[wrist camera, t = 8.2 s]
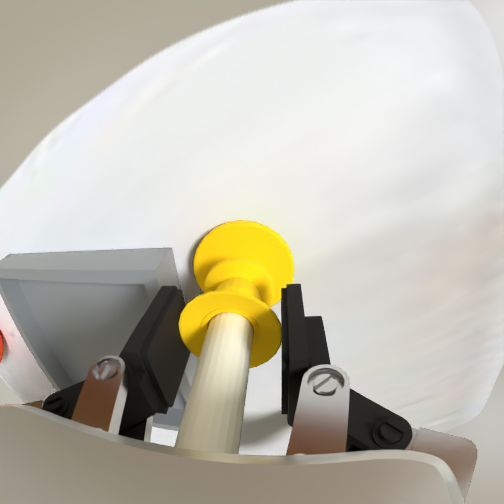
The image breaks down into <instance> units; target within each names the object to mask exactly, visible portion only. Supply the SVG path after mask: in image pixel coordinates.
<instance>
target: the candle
mask: <svg viewBox="0 0 504 504" xmlns="http://www.w3.org/2000/svg"><path fill="white" fill-rule="evenodd" d="M193 264H194V274H195V278H196V281H197V283H198V285H199V287H200V288H201V290H202V291H203V293H204V294H202V295H199V296H197V297H195V298H194V299H193V300H191V301H190V302H189V303H187V305H186V306H185V308H184V309H183V311H182V312H181V315H180V320H179V331H180V334H181V338H182V340H183V342H184V344H185V345H186V346H187V348H188V349H189V350H190V351H191V352H192V353H193V354H194V355H196V356H197V357H198V358H199V360H198V364H197V367H196V371H195V374H194V378H193V381H192V385H191V388H190V392H189V396H188V399H187V403H186V406H185V410H184V414H183V417H182V421H181V424H180V428H179V432H178V435H177V439H176V443H175V447H177V448H183V449H190V450H197V451H206V452H215V453H226V454H238V452H239V444H240V437H241V429H242V422H243V414H244V406H245V398H246V390H247V383H248V375H249V368H253V367H257V366H259V365H261V364H263V363H265V362H267V361H269V360H270V359H271V358H272V357H273V356H274V355H275V354H276V353H277V351H278V349H279V347H280V346H281V341H282V327H281V323H280V321H279V319H278V317H277V316H276V314H275V313H274V312H273V311H272V310H271V309H270V308H269V307H271V306H273V305H274V304H276V303H277V302H279V301H280V300H281V288H286V284H292V282H293V276H294V263H293V256H292V253H291V251H290V249H289V247H288V245H287V243H286V242H285V241H284V240H283V238H282V237H281V236H280V235H279V234H278V233H276V232H275V231H274V230H272V229H271V228H269V227H268V226H265V225H262V224H259V223H257V222H254V221H243V220H238V221H232V222H226V223H224V224H222V225H220V226H218V227H215V228H214V229H213V230H211V231H210V232H209V233H208V234H207V235H206V236H205V237H204V238H203V240H202V241H201V243H200V244H199V246H198V248H197V249H196V253H195V257H194V260H193Z"/></svg>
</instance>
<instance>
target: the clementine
mask: <svg viewBox="0 0 504 504" xmlns="http://www.w3.org/2000/svg"><path fill="white" fill-rule="evenodd" d="M2 356H3V342H2V338H1V335H0V362H1V360H2Z"/></svg>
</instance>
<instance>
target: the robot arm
mask: <svg viewBox="0 0 504 504" xmlns="http://www.w3.org/2000/svg"><path fill="white" fill-rule="evenodd" d="M184 308H185V304H184V299H183V295H182V291H181V290H180V289H177V287H176V286H162V287H161V288H160V290H159V291H158V293H157V294H156V296H155V298H154V299H153V301H152V302H151V304H150V306H149V307H148V309H147V311H146V312H145V314H144V316H143V317H142V318H141V319H140V321H139V323H138V324H137V326H136V328H135V329H134V331H133V333H132V334H131V336H130V338H129V339H128V341H127V343H126V344H125V346H124V348H123V350H122V351H121V353H120V355H119V357H118V356H114V355H109V356H104V357H101V358H99V359H98V360H96V361H95V362H94V363H93V364H92V365H91V367H90V369H89V372H88V374H87V377H86V379H85V380H83V381H81V382H79V383H77V384H74V385H72V386H70V387H67V388H65V389H63V390H60V391H58V392H56V393H53V394H52V395H50V396H49V397H48V398H47V399H46V400H45V402H43V401H42V400H41V401H36V402H31V403H26V404H21V405H20V404H5V405H0V504H464V502H465V499H466V496H467V493H468V489H469V486H470V483H471V479H472V476H473V472H474V468H475V464H476V459H477V449H476V446H475V444H474V443H473V442H472V441H471V440H468V439H465V438H461V437H457V436H453V435H448V434H444V433H440V432H436V431H433V430H429V429H425V428H422V427H420V428H419V430H417V429H414V428H411V426H410V424H409V423H408V421H406V420H405V419H404V418H402V417H401V416H399V415H397V414H395V413H393V412H391V411H389V410H388V409H386V408H384V407H382V406H380V405H379V404H377V403H375V402H373V401H371V400H370V399H368V398H366V397H364V396H363V395H361V394H359V393H357V392H356V391H354V390H352V389H350V381H349V377H348V375H347V374H346V372H345V371H343V370H342V369H341V368H339V367H337V366H334V365H331V364H330V359H329V353H328V347H327V342H326V336H325V331H324V326H323V321H322V317H321V316H309V317H305V316H304V308H303V300H302V292H301V284H286V288H281V320H282V414H287V422H288V424H289V425H290V426H292V431H291V436H290V440H289V444H288V448H287V453H286V456H265V455H239V454H226V453H215V452H206V451H197V450H190V449H183V448H177V447H171V446H165V445H160V444H155V443H150V438H151V430H152V422H153V415H155V414H156V413H161V414H167V411H168V408H169V407H173V405H174V402H175V399H176V395H177V392H178V389H179V386H180V383H181V380H182V377H183V374H184V371H185V368H186V365H187V362H188V359H189V356H190V353H191V351H190V350H189V349H188V348H187V346H186V345H185V344H184V342H183V340H182V338H181V334H180V331H179V320H180V315H181V312H182V311H183V309H184Z"/></svg>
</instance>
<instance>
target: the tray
mask: <svg viewBox="0 0 504 504" xmlns="http://www.w3.org/2000/svg"><path fill="white" fill-rule="evenodd" d="M162 286H176V287H177V289H180V284H179V280H178V275H177V270H176V266H175V261H174V256H173V251H172V248H149V249H122V250H96V251H72V252H49V253H27V254H9V255H8V256H6V257H5V258H3V259H2V260H1V261H0V294H1V296H2V298H3V300H4V303H5V305H6V307H7V309H8V311H9V313H10V315H11V317H12V319H13V321H14V323H15V325H16V327H17V328H18V330H19V332H20V334H21V336H22V338H23V339H24V341H25V343H26V345H27V346H28V348H29V350H30V351H31V353H32V355H33V356H34V358H35V359H36V361H37V363H38V364H39V366H40V367H41V369H42V370H43V372H44V373H45V375H46V376H47V378H48V379H49V380H50V382H51V383H52V385H53V386H54V388H55V389H56V390H57V392H58V391H60V390H63V389H65V388H67V387H70V386H72V385H74V384H77V383H79V382H81V381H83V380H85V379H86V377H87V374H88V372H89V369H90V367H91V365H92V364H93V363H94V362H95V361H96V360H98V359H99V358H101V357H104V356H109V355H114V356H118V357H119V355H120V353H121V351H122V350H123V348H124V346H125V344H126V343H127V341H128V339H129V338H130V336H131V334H132V333H133V331H134V329H135V328H136V326H137V324H138V323H139V321H140V319H141V318H142V317H143V316H144V314H145V312H146V311H147V309H148V307H149V306H150V304H151V302H152V301H153V299H154V298H155V296H156V294H157V293H158V291H159V290H160V288H161V287H162ZM180 290H181V289H180ZM197 364H198V357H197V356H196V355H194V354H193V353H192V352H191V353H190V356H189V359H188V362H187V365H186V368H185V371H184V374H183V377H182V380H181V383H180V386H179V389H178V392H177V395H176V399H175V402H174V405H173V407H169V408H168V411H167V414H161V413H156V414H155V415H153V422H152V426H153V427H158V428H163V429H169V430H175V431H179V428H180V424H181V421H182V417H183V414H184V410H185V406H186V403H187V399H188V396H189V392H190V388H191V385H192V381H193V378H194V374H195V371H196V367H197Z"/></svg>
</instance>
